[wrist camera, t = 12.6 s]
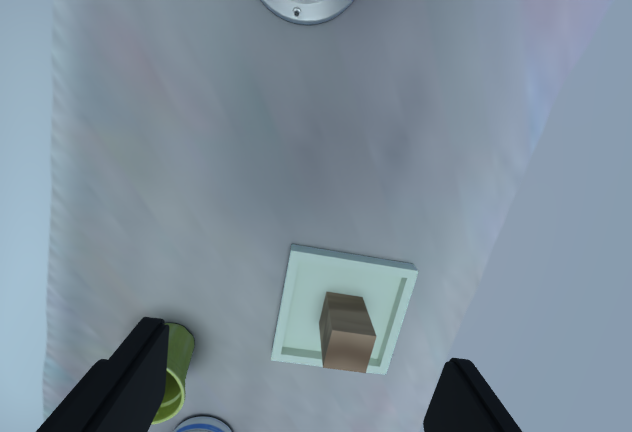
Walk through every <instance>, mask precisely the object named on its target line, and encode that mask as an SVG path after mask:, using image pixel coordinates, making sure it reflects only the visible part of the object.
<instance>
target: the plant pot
mask: <svg viewBox="0 0 632 432" xmlns="http://www.w3.org/2000/svg"><path fill="white" fill-rule="evenodd" d="M165 325H169V342H168V357H167V371H166V385H165V394H164V398H163V401H162V403H161V405H160V407H159V409H158V411H157V413H156V415H155V417H154V419H153V421H152V423H151V425H152V424H157V423H161V422H164V421H167V420H169V419H171V418H172V417H174V416H175V415H176V414H177V413H178V412H179V411H180V409H181V408H182V406H183V404H184V401H185V378H186V374H187V370H188V367H189V363H190V359H191V356H192V353H193V349H194V338H193V336H192V334H190V333H189V332H188V331H187V330H186V329H185V327H183V326H181V325H178V324H174V323H165Z"/></svg>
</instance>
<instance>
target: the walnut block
mask: <svg viewBox="0 0 632 432" xmlns="http://www.w3.org/2000/svg"><path fill="white" fill-rule="evenodd" d="M319 330H320V341H321V352H322V363H323V368H330V369H338V370H346V371H354V372H361V373H366V370H367V367H368V364H369V360H370V357H371V354H372V350H373V347H374V344H375V340H376V337H377V336H376V333H375V330H374V328H373V325H372V322H371V319H370V316H369V314H368V311H367V308H366V305H365V302H364V300H363V297H359V296H353V295H346V294H340V293H333V292H327V291H326V295H325V299H324V304H323V308H322V312H321V317H320V321H319Z"/></svg>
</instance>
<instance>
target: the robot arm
mask: <svg viewBox="0 0 632 432" xmlns="http://www.w3.org/2000/svg"><path fill="white" fill-rule="evenodd" d="M261 1H262V2H263V4H264V5H265V6H266V7H267V8H268V9H269V10H271V11H272V12H273V13H274V14H276V15H277V16H279V17H281V18H283V19H285V20H287V21H290V22H293V23H297V24H305V25H312V24H319V23H323V22H325V21H328V20H331V19H333V18H334V17H336V16H337V15H339V14H341V13H342V12H343V11H344V10H345V9H346V8H347V7H348V6H349V5H350V4H351V3H352V2H353V0H261ZM295 12H298V13H299V16H298V17H296V16H295V15H294V14H295ZM168 342H169V325H165V324H164V320H163V319H157V318H150V317H144V318H143V319H141V321H140V322H139V323H138V324H137V326H136V327H135V328H134V329H133V330H132V332H131V333H130V334H129V335H128V336H127V338H126V339H125V340H124V341H123V343H122V344H121V345H120V346H119V347H118V349H117V350H116V351H115V352H114V354H113V355H112V356H111V357H110V358H109V360H106V359H101V360H99V361H97V362H96V363H95V364H94V365H93V366H92V368H91V369H90V370H89V371H88V372H87V373H86V374H85V376H84V377H83V378H82V379H81V380H80V381H79V383H78V384H77V385H76V386H75V387H74V388H73V389H72V391H71V392H70V393H69V394H68V395H67V396H66V398H65V399H64V400H63V401H62V402H61V403H60V404H59V406H58V407H57V408H56V409H55V410H54V411H53V413H52V414H51V415H50V416H49V417H48V418H47V420H46V421H45V422H44V423H43V424H42V425H41V426H40V428H39V429H38V430H37V431H36V432H147V431H148V429H149V427H150V425H151V423H152V421H153V419H154V417H155V415H156V413H157V411H158V409H159V407H160V405H161V403H162V401H163V398H164V394H165V385H166V371H167V357H168ZM423 425H424V431H425V432H522V431H521V429H520V428H519V427H518V425H517V424H516V423H515V421H514V420H513V418H512V417H511V415H510V414H509V413H508V411H507V410H506V409H505V407H504V406H503V404H502V403H501V402H500V400H499V399H498V397H497V396H496V395H495V393H494V392H493V390H492V389H491V388H490V386H489V385H488V383H487V382H486V381H485V379H484V378H483V376H482V375H481V374H480V372H479V371H478V370H477V368H476V367H475V365H474V364H473V363H472V362H471V361H470V360H466V359H459V358H452V359H450V361H449V362H446V363H445V365H444V368H443V370H442V373H441V376H440V378H439V381H438V384H437V386H436V389H435V392H434V394H433V397H432V399H431V402H430V405H429V407H428V410H427V413H426V415H425V418H424V423H423Z"/></svg>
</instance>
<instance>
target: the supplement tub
mask: <svg viewBox="0 0 632 432" xmlns="http://www.w3.org/2000/svg"><path fill="white" fill-rule="evenodd" d="M174 432H232V431H231V430H230V428H229V427H228V426H227V425H226V424H225V423H223V422H221V421H220V420H218V419H215V418H212V417H205V416H201V417H194V418H190V419H188V420H186V421H184V422H182V423H181V424H180V425H179V426H178V427H177V428H176V429H175V430H174Z"/></svg>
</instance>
